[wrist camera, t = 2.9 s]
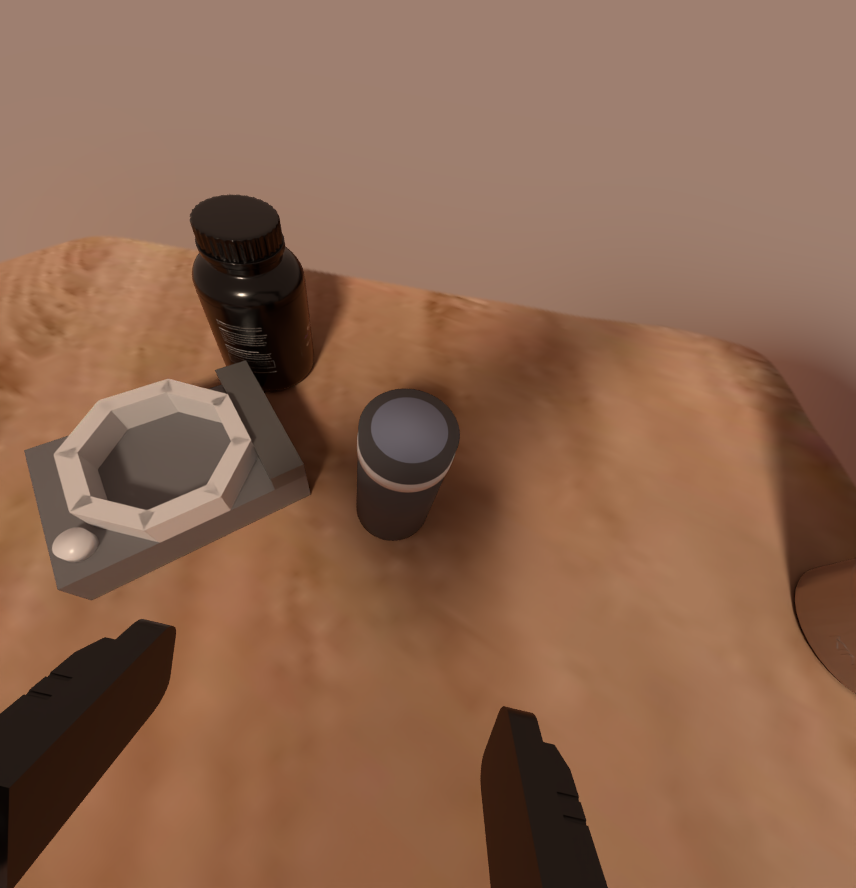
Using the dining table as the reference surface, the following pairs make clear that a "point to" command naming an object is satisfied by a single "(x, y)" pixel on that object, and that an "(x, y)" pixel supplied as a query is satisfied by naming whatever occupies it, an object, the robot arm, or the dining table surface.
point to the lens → (402, 460)
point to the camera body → (160, 478)
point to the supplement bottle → (252, 289)
